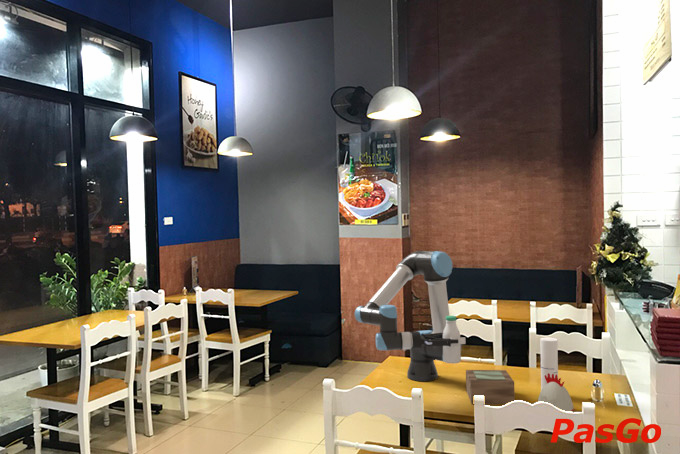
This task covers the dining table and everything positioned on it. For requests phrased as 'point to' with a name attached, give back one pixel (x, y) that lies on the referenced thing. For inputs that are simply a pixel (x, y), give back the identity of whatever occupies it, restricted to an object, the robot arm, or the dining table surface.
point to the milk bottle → (454, 351)
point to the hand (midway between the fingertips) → (462, 338)
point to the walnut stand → (490, 386)
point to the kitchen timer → (556, 394)
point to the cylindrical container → (548, 358)
